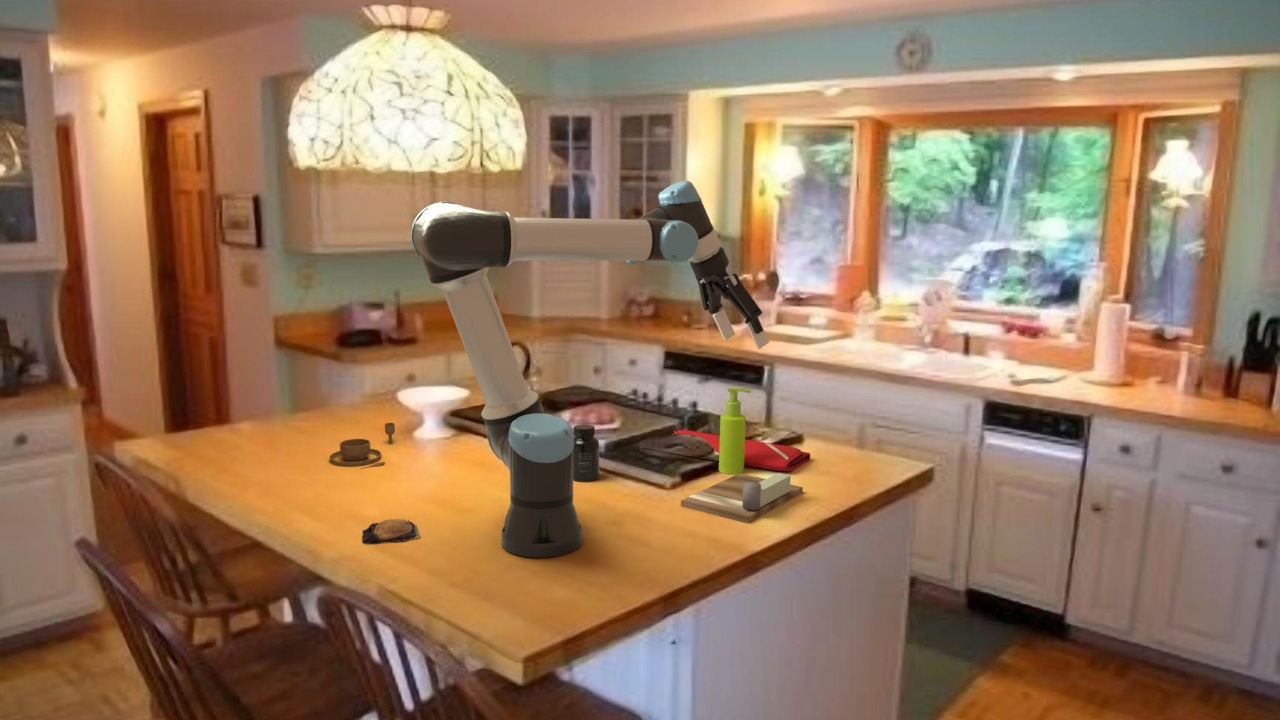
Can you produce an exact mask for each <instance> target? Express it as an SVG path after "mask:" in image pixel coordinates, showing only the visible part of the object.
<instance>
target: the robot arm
mask: <svg viewBox="0 0 1280 720" xmlns="http://www.w3.org/2000/svg"><path fill="white" fill-rule="evenodd" d="M658 200H659V205H658V206H657V207H655V208H653V209H652V210H650V211H648V212H646V213H645V214H644V215H642V216H639V217H638V218H636V219H625V218H624V219H621V218H619V219H617V218H612V219H611V218H561V217H559V218H555V217H554V218H552V217H551V218H550V217H547V218H546V217H513V216H512V215H511V214H510V213H509V212H507V211H494V210H493V211H492V210H491V211H490V210H485V209H479V208H476V207H472V206H471V207H470V206H467V205H463V204H458V203H455V202H449V201H440V202H435V203H432V204H431V205H428V206H427V207H424V209H422V210H421V211H420V212H419V213H418V214H417V216H415V219H414V220H413V223H412V227H411V233H410V235H411V243H412V245H413V249H414V250H415V252H416V253H417V255H419V257H420V258H421V260H422V264H423V267H424V268H425V271H426V273H427V275H428V279H429V280H430V284H431V285H432V286H433V287H436V288H439V289H440V290H441V291H442V292H443V294H444V297H445V299H446V300H445V301H446V304H447V306H448V308H449V311H450V313H451V315H452V319H453V321H454V324H455V327H456V329H457V332H458V334H459V336H460V340H461V343H462V345H463V348H464V350H465V353H466V355H467V359H468V361H469V363H470V366H471V369H472V372H473V374H474V376H475V379H476V382H477V385H478V387H479V389H480V393H481V395H482V397H483V400H484V403H485V405H484V406H483V409H482V410H481V411H482V412H481V418H482V421H483V422H484V423H483V424H484V425H485V428H486V437H487V442H488V445H489V447H490V449H491V451H492V453H493V454H494V455H495V456H496V457H497V458H498V459H499V460H500V461H501V462H502V463H503V464H504V466H505V467H506V468H507V469H508V470H509V492H510V493H509V494H510V497H509V498H510V499H509V500H510V501H509V502H510V503H509V507H508V511H507V513H506V516H505V520H504V523H503V524H504V525H503V526H502V529H501V534H500V536H501V538H500V539H501V543H500V544H501V546H502V549H504V550H505V551H507V552H508V553H511V554H513V555H516V556H519V557H525V558H552V557H553V558H554V557H559V556H565V555H567V554H569V553H573V552H574V551H576V550H577V549H579V548H580V547H581V546H582V544H583V528H582V526H581V524H580V523H579V518H578V515H577V514H578V513H577V511H576V507H575V504H574V480H573V448H574V438H573V437H574V435H573V432H574V430H573V427H572V425H571V424H570V422H568V421H567V420H566V419H565V418H563V417H560V416H557V415H556V416H554V415H553V414H551V413H550V414H549V413H545V412H544V411H545V410H544V408H543V405H542V402H541V400H540V397H539V394H538V393H537V392H536V391H533V390H531V389H528V387H527V383H526V382H525V378H524V376H523V373H522V370H521V367H520V364H519V362H518V358H517V356H516V354H515V350H514V348H513V347H514V346H513V345H512V341H511V339H510V337H509V334H508V331H507V328H506V325H505V323H504V320H503V317H502V314H501V312H500V309H499V307H498V303H497V300H496V299H495V296H494V293H493V290H492V286H491V284H490V282H489V279H488V276H487V274H488V272H489V269H490V268H507V267H509V266H510V265H511V264H512V263H513V262H565V261H566V262H569V261H570V262H571V261H572V262H573V261H576V262H577V261H578V262H579V261H581V262H582V261H583V262H586V261H587V262H589V261H590V262H591V261H592V262H593V261H595V262H596V261H597V262H598V261H603V262H604V261H607V262H608V261H612V262H613V261H625V262H626V263H627V264H630V265H637V264H638V263H640V262H643V261H648V262H649V261H659V262H660V261H661V262H662V261H665V262H666V261H668V262H670V263H682V262H683V263H684V262H686V261H690V262H689V265H690V267H691V269H692V271H693V274H694V276H695V279H696V282H697V284H698V289H699V292H700V298H701V301H702V307H703V310H704V311H708V312H709V314H710V315H712V319H714V322H715V324H716V326H717V328H718V331H719V332H720V334H721V336H722V338H723V340H724V341H728V340H729V339H731V338H733V337H734V336H735V335H736V332H735V329H734V328H733V326H732V324H731V321H730V320H729V318H728V315H727V313H726V311H725V309H724V308H723V307H724V305H723V304H722V303H721V302H722V300H721V299H722V298H721V297H723V299H725V300H728V301H729V302H730V303H731V304H732V306H734V307H735V308H736V310H737V311H738V312H739V313H740V314H741V316H743V318H744V325H746V327H747V329H748V331H749V334H750V336H751V338H752V341H753V342H754V344H755V346H756V349H757V350H761V349H762V348H763V347H764V346H767V345H768V344H769V343H770V340H769V338H768V336H767V333H766V332H765V330H764V327H763V325H762V323H761V321H760V318H759V317H760V316H761V315H763V311H762V309H761V308H760V307H759V305H758V304H757V302H756V301H755V300H754V298H753V297H752V296H751V294H750V292H749V291H748V290H747V289H746V288H745V286H744V285H743V284H742V282H741V280H740V278H739V275H738V274H737V273H733V274H731V275H729V273H728V272H727V267H728V266H729V265H730V260H729V258H728V255H727V254H726V251H725V250H724V248H723V247H722V246H721V245H722V244H721V241H720V240H719V239H720V238H719V236H718V235H717V234H718V231H717V230H716V229H715V228H714V226H713V224H712V222H711V219H710V217H709V215H708V213H707V211H706V208H705V205H704V203H703V201H702V198H701V196H700V195H699V192H698V191H697V189H696V187H695V185H694V184H693V182H691V181H689V180H681V181H679V182H676V183H673V184H671V185H669V186H667V187H666V188H664V189H663V190H662V191H660V192H659V194H658Z"/></svg>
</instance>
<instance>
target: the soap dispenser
mask: <svg viewBox="0 0 1280 720" xmlns="http://www.w3.org/2000/svg"><path fill="white" fill-rule="evenodd" d="M727 392H730V393H729V399H728V400H727V401H726V402H725V405H726V406H725V414H721V415H720V421H719V422H720V423H719V435H720V447H719V462H718V471H719V472H720V473H722V474H726V475H737V474H739V473H741V474H744V471H745V466H744V453H745V439H746V425H747V424H746V418H747V417H746V415H743V414H742V413H741V409H742V408H741V407H742V406H741V405H742V402H741V401H739V400H738V395H739V394H738V392H739V393H741V392H742V393H747V394H750V393H751V392H752V389H749V388H746V387H742V386H741V387H740V386H729V387H728V388H727Z"/></svg>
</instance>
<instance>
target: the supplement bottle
mask: <svg viewBox="0 0 1280 720" xmlns="http://www.w3.org/2000/svg"><path fill="white" fill-rule="evenodd" d="M595 427H596V426H594V425H592V424H585V423H584V424H577V425H574V426H573V438H574V448H573V481H576V482H592V481H595V480H597V479H598V478H599V477H600V441H599V439H598V438H597V437H596V436H595V435H596V432H595Z"/></svg>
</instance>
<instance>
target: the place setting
mask: <svg viewBox="0 0 1280 720" xmlns="http://www.w3.org/2000/svg"><path fill="white" fill-rule="evenodd" d="M395 425H396V424H395V423H394V422H386V423H384V432H385V434H386V435H388V445H389V446H393V443H392V442H393V435H394V434H395V431H396V428H395V427H396V426H395ZM369 455H373V456H376V457H373V458H370V459H366V460H365V458H367V457H368V456H369ZM339 457H343V458H344V459H346V460H347V461H340V460H336V459H337V458H339ZM381 457H382V452H381V451H380V450H378V449H375V448H371V441H370V440H369V439H366V438H351V439H346V440H343V441H341V442H339V450H338V451H335V452H333V453H331V454H330V455H329V461H330V463H331V464H333V465H335V466H337V467H338V466H339V467H349V468H350V467H352V468H353V467H361V468H360V470H363V469H367V468H376V467H381V466H383V465H385V464H386V462H385V461H380V462H378V461H379V460H380V459H381ZM363 466H365V467H363Z"/></svg>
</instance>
